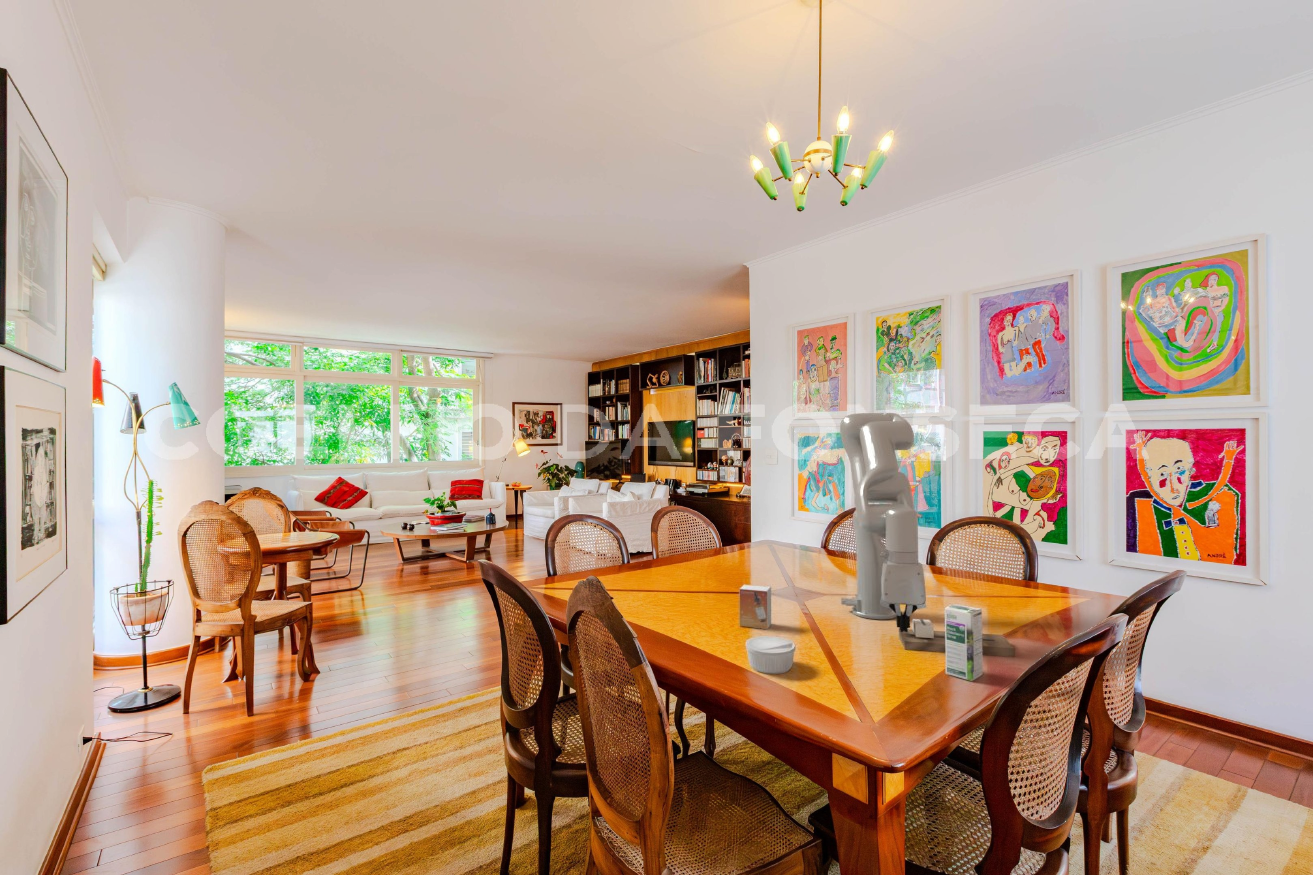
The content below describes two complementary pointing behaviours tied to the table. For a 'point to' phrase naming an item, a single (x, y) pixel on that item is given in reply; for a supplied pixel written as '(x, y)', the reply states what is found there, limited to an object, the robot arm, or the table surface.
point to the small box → (755, 606)
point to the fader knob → (923, 628)
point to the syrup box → (963, 641)
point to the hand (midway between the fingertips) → (903, 630)
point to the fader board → (990, 646)
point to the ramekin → (770, 654)
